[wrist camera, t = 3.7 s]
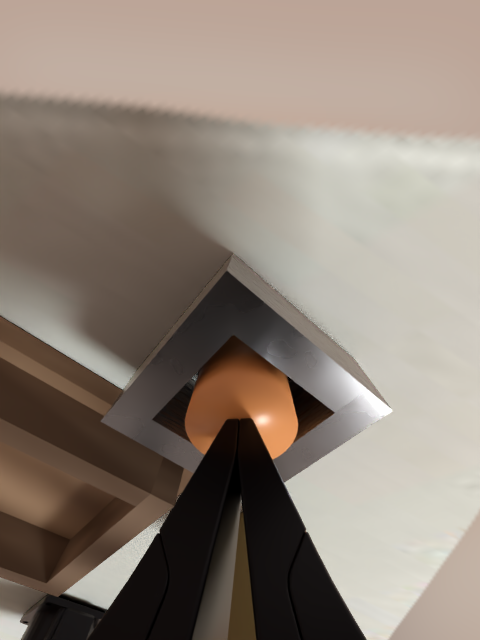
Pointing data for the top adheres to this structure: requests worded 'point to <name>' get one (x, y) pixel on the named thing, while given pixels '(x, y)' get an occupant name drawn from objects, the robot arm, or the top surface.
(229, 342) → the button
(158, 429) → the button housing
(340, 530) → the top surface
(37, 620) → the robot arm
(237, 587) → the cork
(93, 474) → the wooden serving tray
